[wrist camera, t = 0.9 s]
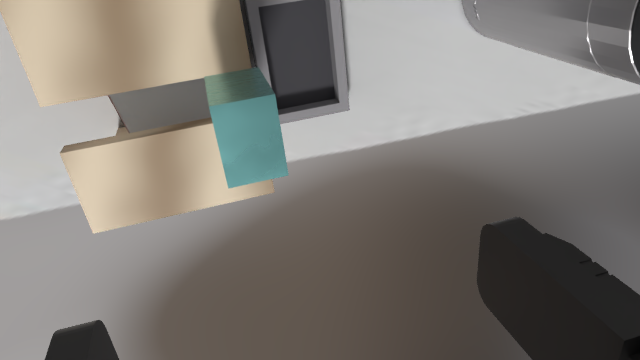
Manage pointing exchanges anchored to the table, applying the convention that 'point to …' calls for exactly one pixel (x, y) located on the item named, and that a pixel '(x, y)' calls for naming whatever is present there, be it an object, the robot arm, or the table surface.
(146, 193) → the tunnel
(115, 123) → the table surface
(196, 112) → the small box
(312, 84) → the tray
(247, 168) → the slider
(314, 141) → the table surface
